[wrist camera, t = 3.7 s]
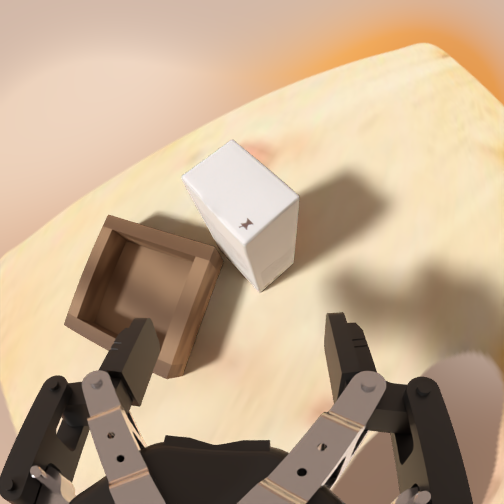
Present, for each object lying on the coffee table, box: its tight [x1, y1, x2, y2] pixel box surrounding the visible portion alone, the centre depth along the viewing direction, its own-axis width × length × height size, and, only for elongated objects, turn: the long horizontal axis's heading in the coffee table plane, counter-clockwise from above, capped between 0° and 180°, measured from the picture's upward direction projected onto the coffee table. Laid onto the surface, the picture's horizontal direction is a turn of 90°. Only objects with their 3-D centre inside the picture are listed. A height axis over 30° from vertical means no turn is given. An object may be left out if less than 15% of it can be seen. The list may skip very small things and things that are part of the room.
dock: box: [64, 215, 224, 379], centre depth 26 cm, size 11×13×4 cm
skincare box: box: [181, 140, 300, 293], centre depth 23 cm, size 6×4×12 cm
